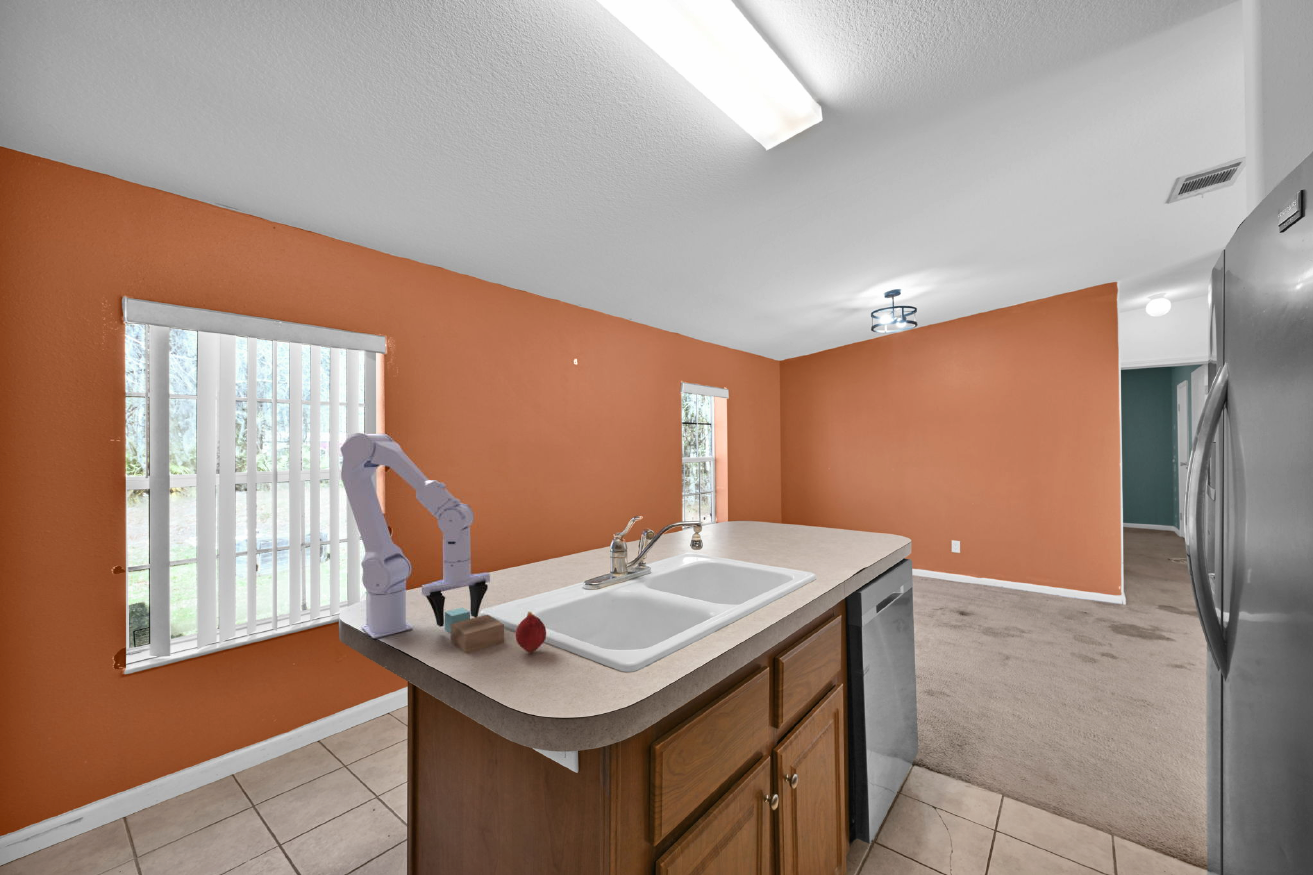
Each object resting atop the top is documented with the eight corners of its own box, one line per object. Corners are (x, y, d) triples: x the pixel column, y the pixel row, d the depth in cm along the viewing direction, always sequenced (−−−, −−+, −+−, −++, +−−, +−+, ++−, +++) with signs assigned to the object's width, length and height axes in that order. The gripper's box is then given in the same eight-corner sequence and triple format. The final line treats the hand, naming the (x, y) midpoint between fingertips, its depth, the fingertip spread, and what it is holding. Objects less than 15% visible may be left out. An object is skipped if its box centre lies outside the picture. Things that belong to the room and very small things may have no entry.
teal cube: (444, 629, 111) (444, 611, 111) (462, 625, 114) (462, 607, 114) (452, 634, 108) (451, 616, 108) (470, 629, 111) (469, 611, 111)
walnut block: (450, 642, 104) (450, 623, 104) (487, 632, 110) (487, 614, 110) (465, 654, 98) (465, 634, 98) (504, 643, 104) (503, 624, 104)
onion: (550, 646, 101) (549, 607, 101) (540, 659, 95) (540, 617, 95) (522, 646, 101) (521, 606, 101) (511, 658, 96) (510, 616, 96)
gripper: (430, 568, 103) (430, 634, 103) (495, 556, 113) (496, 616, 113) (418, 563, 108) (418, 625, 108) (481, 552, 118) (482, 609, 118)
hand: (457, 620), depth 111 cm, fingers open, 7 cm apart
